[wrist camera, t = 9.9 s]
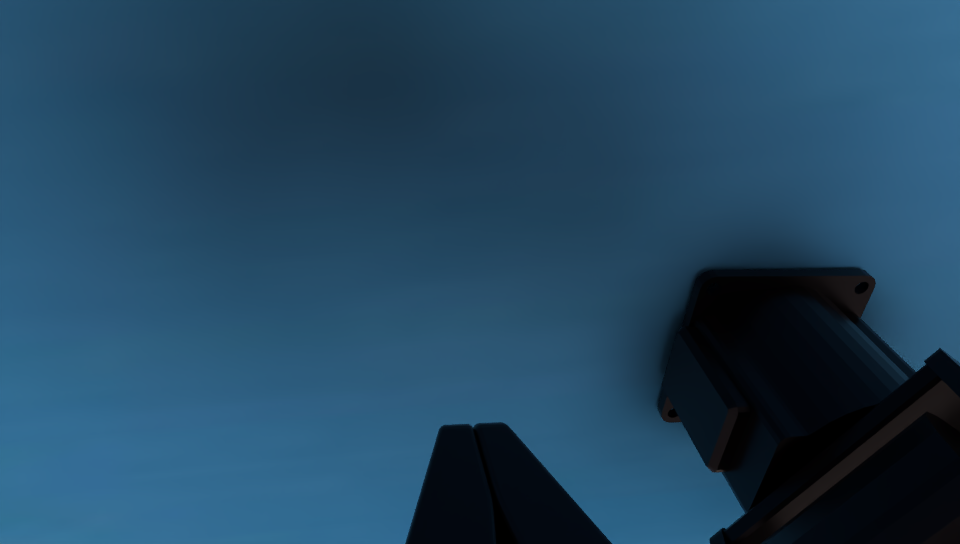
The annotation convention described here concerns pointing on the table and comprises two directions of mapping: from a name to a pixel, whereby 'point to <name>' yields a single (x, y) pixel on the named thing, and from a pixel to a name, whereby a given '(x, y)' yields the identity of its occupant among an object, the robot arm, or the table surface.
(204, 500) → the table surface
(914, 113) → the table surface
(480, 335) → the table surface
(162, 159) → the table surface
